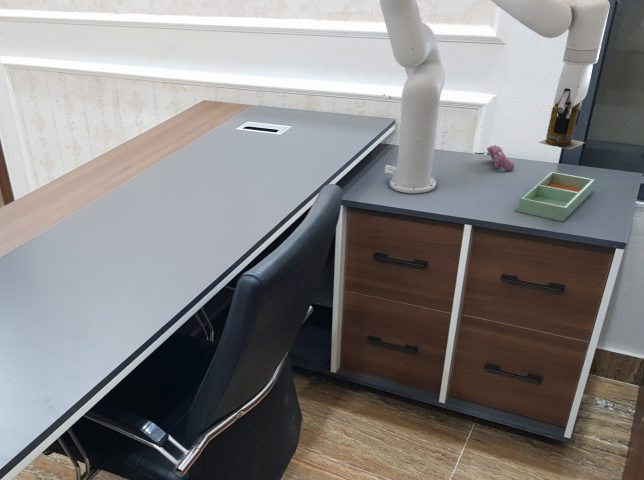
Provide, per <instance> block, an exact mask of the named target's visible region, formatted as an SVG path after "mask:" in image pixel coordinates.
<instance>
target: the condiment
mask: <svg viewBox="0 0 644 480" xmlns="http://www.w3.org/2000/svg"><path fill="white" fill-rule="evenodd" d="M561 99H562V98H561ZM560 101H561V100H560ZM570 104H571V103H566V105H570ZM558 105H559V104H557V105H555V104H553V105H552V108H551V112H550V118H549V121H548V122H549V123H548V128H547V132H546V137H545V139H543V140H540V141H538V142H537V143H538V144H542V145H547V146H551V147H557V148H560V149H567V150H573V149H575V148H577V147H580V146H582V145H583V144H586V142H584V141H580V140H575V139H573V137H574V132H575V130H576V129H575V128H576V127H575V124H576V120H577V116H578V111H580V110H579V106H578V105H579V103H578V104H577V105H575V106H573V108H572V111H571V114H570V117H569V118H571V119H570V124H569V128H568V133H567V134H566V135H564V134H558V133H554V132H553V131H554V126H555V121H556V116H557V113H558V112H557V111H558ZM565 109H567V112H568V109H569V108H565Z"/></svg>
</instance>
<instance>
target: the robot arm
mask: <svg viewBox="0 0 644 480" xmlns="http://www.w3.org/2000/svg"><path fill="white" fill-rule="evenodd" d="M490 1H491V2H492V3H493V4H495V6H497V7H498V8H499V9H501V10H503V11H504V12H505V13H506V14H507V15H509V16H510V17H512V19H514V20H516V21H517V22H518V23H520V24H522V25H523V26H525V27H526V28H527V29H529V30H531V31H532V32H534V33H535V34H537V35H539V36H541V37H543V38H545V39H546V38H547V39H555V38H558V37H560V36H563V34H565V33H566V32H567V31H568V33H567V37H566V43H565V47H564V53H563V57H562V62H563V63H564V64H563V65H562V69H561V72H560V75H559V79H558V83H557V87H556V91H555V95H554V98H553V105H557V104H559V105H558V111H557V112H558V113H557V116H556V121H555V126H554V131H553V132H554V133H558V134H564V135H566V134H567V133H568V128H569V124H570V119H571V118H569V117H570V114H571V111H572V108H573V106H575V105H577V104H578V103H579V105H578V106H579V111H578V116H577V120H576V124H575V128H576V127H577V126H578V123H579V118H580V115H581V109H582V103H583V101H584V100H585V98H586V97H587V95H588V92H589V87H590V83H591V77H592V71H593V68H594V67H593V66H594V65H595V64H597V63H598V61H599V55H600V52H601V48H602V43H603V38H604V34H605V30H606V25H607V23H608V22H607V21H608V15H609V12H610V7H611V3H610V1H609V0H490ZM379 4H380V5H379V6H380V9H381V12H382V16H383V19H384V24H385V27H386V31H387V35H388V39H389V42H390V45H391V49H392V53H393V57H394V59H395V61H396V63H397V64H398V65H400V66H401V67H403V68H404V70H405V73H406V76H407V78H406V79H405V82H404V85H403V88H402V92H401V93H402V94H401V109H400V125H399V126H400V127H399V137H398V138H399V139H398V149H397V162H396V166H393V165H390V164H386V165H385V166H384V171H383V172H384V173H383V174H384V175H387V176H392V177H391V178H390V180H389V187H390V188H392V189H393V190H394V191H396V192H401V193H404V194H423V193H428V192H431V191H433V190H434V189H435V188H436V187H437V181H436V179H434V177H432V172H433V166H434V165H433V163H434V156H435V146H436V139H437V127H438V120H439V111H440V110H439V109H440V101H441V96H442V92H443V88H444V86H445V82H446V74H445V69H444V65H443V61H442V57H441V54H440V51H439V47H438V43H437V39H436V36H435V34H434V31H433V29H432V28H431V27H430V26H429V25H428V24H426V23H424V22H423V21H422V17H421V13H420V9H419V5H418V3H417V0H379ZM561 98H562V99H561ZM560 100H561V101H560ZM566 103H571V104H570V105H566ZM565 108H569V109H568V112H567V109H565Z"/></svg>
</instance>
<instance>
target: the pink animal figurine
mask: <svg viewBox="0 0 644 480" xmlns="http://www.w3.org/2000/svg"><path fill="white" fill-rule="evenodd" d="M486 150H487V152H486V155H487V156H488V157H490V158H491V160H492V162H493V164H494V166H495V167H497V169H500V168H502V169H503V170H506V171H509V172H511V171H514V169H515V165H514V163H513V162H512V161H511V160H509V158H508V157H507V156H506V154H505V153H504V150H503V148H502V147H501V146H498V145H496V144H494V145H491V146H488V147H487V149H486Z"/></svg>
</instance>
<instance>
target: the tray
mask: <svg viewBox="0 0 644 480" xmlns="http://www.w3.org/2000/svg"><path fill="white" fill-rule="evenodd" d="M595 181H596V179H594V178H588V177H583V176H579V175H578V176H577V175H572V174H568V173H567V174H566V173H561V172H556V171H550V172H549V173H548V174H547V175H545V176H544V177H543V178H542V179H541V180H540V181H538V182H537V183H536V184H535V185H534V186H533V187H532V188H530V189H529V191H527V192H526V193H525V194H524V195H523V196H521V197H520V198H519V204H518V207H517V208H518V209H517V212H519V213H522V214H523V213H524V214H527V215H532V216H538V217H540V218H541V217H542V218H546V219H550V220H555V221H559V222H564V221H565V220H566V219H567V218H568V217H569V216H570V215H571V214H573V212H574V211H575V210H577V208H578V207H579V206H580V205H581V204H582V203H583V202H584V201H585V200H586V199H588V197H589V196H590V195H591V194H592V193H593V189H594V186H595V185H594V184H595Z"/></svg>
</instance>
